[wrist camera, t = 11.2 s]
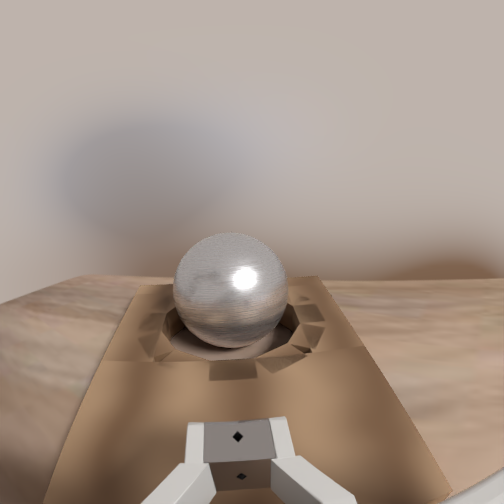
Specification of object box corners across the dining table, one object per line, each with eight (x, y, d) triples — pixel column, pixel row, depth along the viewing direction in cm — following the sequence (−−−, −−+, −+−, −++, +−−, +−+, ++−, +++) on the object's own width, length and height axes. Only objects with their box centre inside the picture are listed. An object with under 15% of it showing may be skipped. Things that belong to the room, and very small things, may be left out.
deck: (63, 535, 8) (38, 515, 7) (144, 307, 32) (140, 285, 31) (432, 512, 9) (452, 490, 8) (316, 297, 33) (317, 275, 32)
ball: (177, 236, 29) (188, 330, 30) (154, 241, 20) (173, 371, 21) (275, 227, 29) (282, 321, 30) (294, 228, 20) (302, 358, 21)
